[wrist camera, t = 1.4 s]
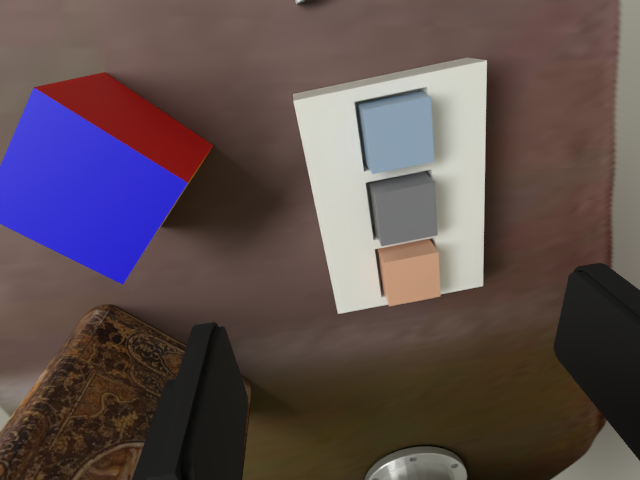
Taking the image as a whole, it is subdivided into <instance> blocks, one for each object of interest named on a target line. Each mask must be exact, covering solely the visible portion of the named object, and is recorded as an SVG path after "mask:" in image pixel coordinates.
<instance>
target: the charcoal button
mask: <svg viewBox="0 0 640 480" xmlns="http://www.w3.org/2000/svg"><path fill="white" fill-rule="evenodd" d="M369 188H370V196H371V203H372V211H373V218H374V225H375V233H376V235H377V237H378V240H379V242H380V244H381V246H386V245H391V244H396V243H401V242H407V241H412V240H417V239H422V238H427V237H432V236H437V235H438V232H437V212H436V191H435V182H434V181H433V180H432V179H431V177H430V176H429V175H428V174H427V173H426V172H420V173H416V174H411V175H406V176H401V177H396V178H391V179H386V180H381V181H376V182H371V183H369Z"/></svg>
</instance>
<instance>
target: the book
mask: <svg viewBox="0 0 640 480" xmlns="http://www.w3.org/2000/svg"><path fill="white" fill-rule="evenodd" d="M185 349H186V345H185V344H183V343H181V342H179V341H177V340H175V339H174V338H172V337H170V336H168V335H166V334H164V333H163V332H161V331H159V330H157V329H155V328H153V327H152V326H150V325H148V324H146V323H144V322H142V321H140V320H139V319H137V318H135V317H133V316H131V315H129V314H128V313H126V312H124V311H122V310H120V309H118V308H117V307H115V306H113V305H101V306H98V307H95V308H93V309H92V310H90V311H89V312H88V313H87V314H86V315H85V316H84V317H83V318H82V319H81V321H80V322H79V324H78V325H77V326H76V328H75V329H74V330H73V332H72V333H71V335H70V336H69V337H68V339H67V340H66V341H65V343H64V344H63V346H62V347H61V348H60V350H59V351H58V352H57V354H56V355H55V357H54V358H53V359H52V361H51V362H50V363H49V365H48V366H47V368H46V369H45V370H44V372H43V373H42V375H41V376H40V377H39V379H38V380H37V381H36V383H35V384H34V386H33V387H32V388H31V390H30V391H29V392H28V394H27V395H26V397H25V398H24V399H23V401H22V402H21V403H20V405H19V406H18V408H17V409H16V410H15V412H14V413H13V414H12V416H11V417H10V419H9V420H8V421H7V423H6V424H5V425H4V427H3V428H2V430H1V431H0V480H132V478H133V475H134V472H135V469H136V466H137V463H138V460H139V457H140V454H141V451H142V449H143V446H144V443H145V440H146V437H147V434H148V431H149V428H150V425H151V422H152V419H153V417H154V414H155V411H156V408H157V405H158V402H159V399H160V396H161V393H162V390H163V388H164V386H165V384H166V382H167V381H168V380H173V379H176V378H177V374H178V371H179V368H180V365H181V362H182V359H183V356H184V352H185ZM241 377H242V376H241ZM242 380H243V383H244V386H245V389H246V392H247V396H248V412H247V422H246V431H245V441H244V450H243V460H242V469H241V479H240V480H242V476H243V467H244V458H245V449H246V440H247V431H248V423H249V414H250V404H251V387H250V384H249V382H248V381H247V380H246V379H245V378H243V377H242Z"/></svg>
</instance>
